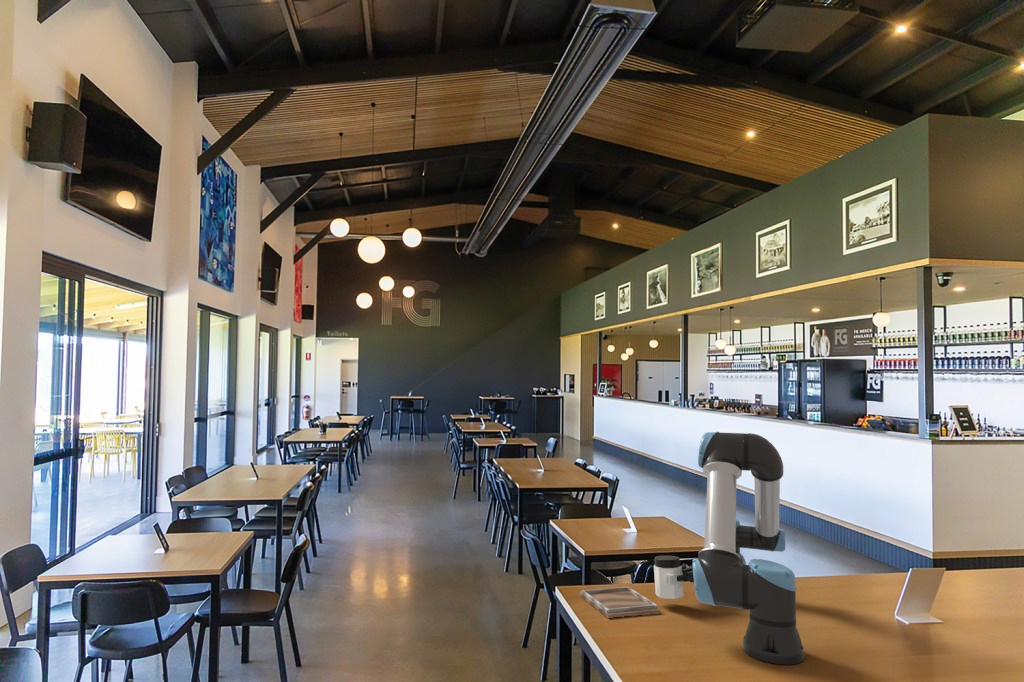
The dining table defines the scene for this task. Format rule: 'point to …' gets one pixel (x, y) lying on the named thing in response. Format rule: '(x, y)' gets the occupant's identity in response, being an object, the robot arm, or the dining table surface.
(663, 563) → the jar
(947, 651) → the dining table surface
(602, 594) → the tray
